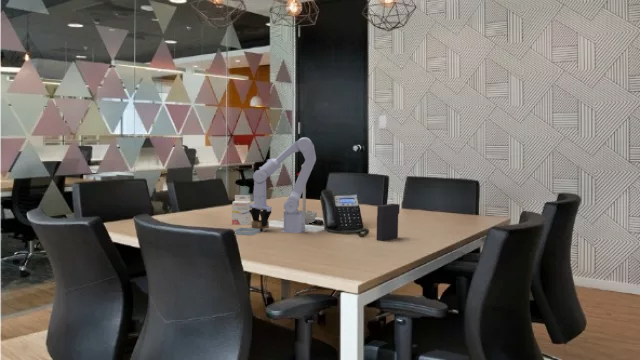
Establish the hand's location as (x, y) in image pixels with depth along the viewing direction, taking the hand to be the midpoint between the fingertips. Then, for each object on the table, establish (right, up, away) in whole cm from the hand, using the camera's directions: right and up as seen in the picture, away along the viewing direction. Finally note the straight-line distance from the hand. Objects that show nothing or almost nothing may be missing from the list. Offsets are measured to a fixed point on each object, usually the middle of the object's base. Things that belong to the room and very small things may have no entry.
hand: (260, 225), depth 259 cm
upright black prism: (+57, -5, -16) cm, 59 cm away
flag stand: (+19, -1, +28) cm, 34 cm away
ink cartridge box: (-11, -2, +18) cm, 21 cm away
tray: (-6, -3, -7) cm, 10 cm away
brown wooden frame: (0, -1, 0) cm, 1 cm away
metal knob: (0, -3, 0) cm, 3 cm away
